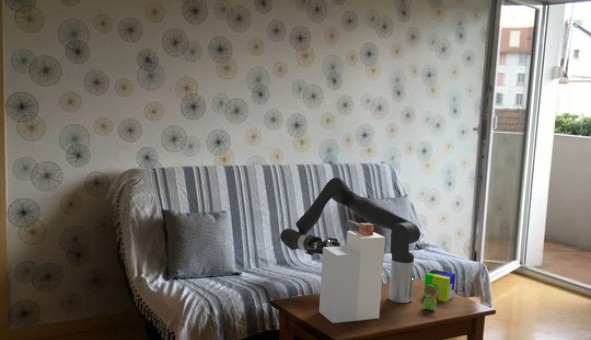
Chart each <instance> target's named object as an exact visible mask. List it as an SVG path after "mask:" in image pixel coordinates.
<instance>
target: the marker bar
mask: <svg viewBox="0 0 591 340" xmlns="http://www.w3.org/2000/svg"><path fill="white" fill-rule="evenodd" d="M345 225H346V228H349V229H351V230H352V231H357V232H359V233H360V234H362V235H364V236H365V235H373V232H374V228H375V225H374V224H372V223H370V222H356V221H355V220H352V219H349V220H346V224H345Z"/></svg>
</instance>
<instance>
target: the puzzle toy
mask: <svg viewBox="0 0 591 340" xmlns="http://www.w3.org/2000/svg"><path fill="white" fill-rule="evenodd" d="M440 282H441V288H440V290H439V293H438V295H437V296H436V297H433V298H435V300H436V299H437V300H438V301H440V300H441V302H447V301H449V300H450V299H452V298H453V297H454V295H455V282H456V274H455V273H453V272H448V271H443V270H437V269H432V270H430V271H429V272H427V273H426V274H425V275H424V286H423V287H424V289H423V297H424V296H425V294H426V292H425V287H426V286H427V285H433V286H434V287H435V288H436V290H437V286H438V285H440ZM426 297H427V296H426ZM426 297H425V298H426ZM437 300H436V301H437Z"/></svg>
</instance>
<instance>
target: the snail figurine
mask: <svg viewBox="0 0 591 340" xmlns="http://www.w3.org/2000/svg"><path fill="white" fill-rule="evenodd" d="M440 288H441V282H440V285H438V286H437V290H436V288H435V287H434V286H433V285H427V286H426V287H425V292H426V294H425V296H427V297H424V299H423V301H422V302H423V303H422V305H423V307H424V308H425V310H427V311H433V310H435V309H436V308H437V305H438V304H437V303H438V301H437V300H436V299H435V298H433V297H436V296H437V295H438V293H439V290H440Z"/></svg>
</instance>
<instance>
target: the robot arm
mask: <svg viewBox="0 0 591 340" xmlns="http://www.w3.org/2000/svg"><path fill="white" fill-rule="evenodd" d="M331 199H332V200H333V201H335V202H336V203H338V204H340V205H343V206H344V207H346V208H349V209H350V210H352V211H353V212H354V213H355V214H357V215H358V216H359V217H360V218H362V219H364V220H365V221H366V222H367V223H370V224H373V225H374V226H378V227H382V228H385V229H388V230H390V232H391V233H390V247H389V248H390V255H391V261H390V262H391V263H390V276H389V286H388V287H389V288H388V289H389V290H388V300H390V301H391V302H394V303H398V304H408V303H410V302H413V300H414V299H413V298H414V289H415V288H414V287H415V279H414V277H413V274H414V261H415V255H414V254H413V253H412V252H411V251H409V250H410V249H409V248H410V247H409V246H410V245H411V244H414V243H416V242H418V241H419V239H420V238H421V230H420V228H419V227H418V225H417V224H416V223H414V222H412V221H410V220H409V219H406V218H404V217H402V216H399V215H398V214H396V213H394V212H393V211H391V210H389V209H388V208H386V207H384V206H383V205H381V204H380V203H379V202H377V201H375V200H373V199H372V198H369V197H365V196H360V195H358V194H357V193H356V192H355V191H353V190H352V189H351V188H350V187H349V186H348V185H347V184H346V182H345V181H344V180H343V179H342V178H341V177H338V176H336V177H332V178H331V179H329V180H328V182H327V183H326V184H325V185H324V187H323V188H322V189H321V191H320V192H319V194H318V196H317V197H316V198H315V200H314V202H313V203H312V204H311V205H310V206H309V208H308V209H307V210H306V211H305V212H304V214H303V215H302V216H301V217H300V218H299V219H298V220H297V221H296V222H295V226H296V228H297V229H298V231H297V230H295V229H293V228H285V229H283V230H282V231H281V232H280V235H279V238H280V241H281V242H282V244H284V245H285V246H287V248H288V249H290V251H296V250H301V251H303V252H304V253H305V254H306V255H309V256H313V255H323V247H337V246H341V243H340V241H339V242H338V240H339V239H338V238H336V237H335V238H333V237H327V239H322V238H321V237H320V236H317V235H312V234H308V233H309V232H310V231H311V230H312V229H313V228H314V226H316V225H317V223H318V222H319V220H320V218H321V217H322V213H323V211H324V209H325V208H326V206H327V204H328V202H329V201H330V200H331Z"/></svg>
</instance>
